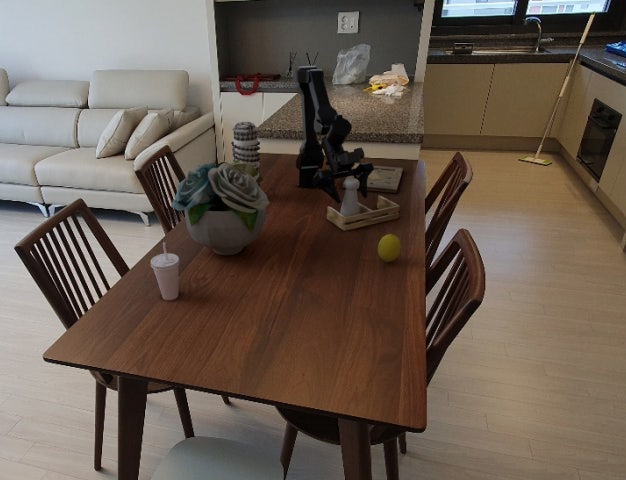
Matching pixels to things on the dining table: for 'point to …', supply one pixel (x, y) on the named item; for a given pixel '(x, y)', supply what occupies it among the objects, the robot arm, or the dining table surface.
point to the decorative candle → (246, 145)
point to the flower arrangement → (222, 205)
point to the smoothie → (166, 273)
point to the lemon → (389, 247)
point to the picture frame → (382, 178)
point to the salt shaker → (350, 199)
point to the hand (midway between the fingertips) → (353, 200)
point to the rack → (365, 215)
